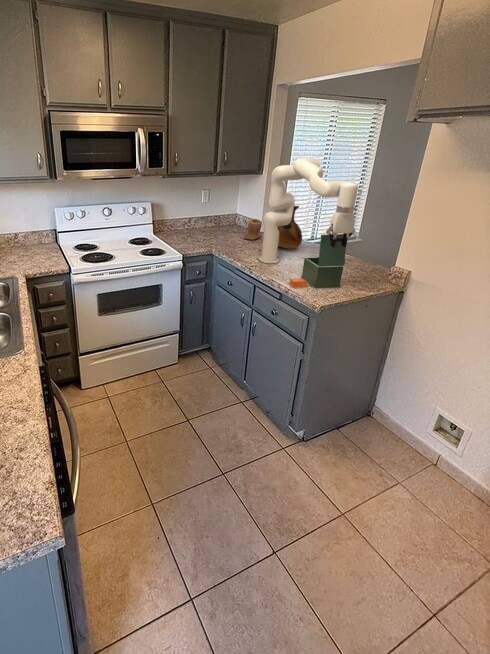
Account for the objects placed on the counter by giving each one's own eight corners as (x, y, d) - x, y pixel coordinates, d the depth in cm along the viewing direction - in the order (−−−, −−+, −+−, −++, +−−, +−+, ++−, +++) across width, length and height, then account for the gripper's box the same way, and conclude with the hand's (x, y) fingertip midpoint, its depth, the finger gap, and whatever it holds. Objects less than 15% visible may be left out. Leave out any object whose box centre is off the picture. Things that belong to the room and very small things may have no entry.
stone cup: (255, 242, 266) (257, 222, 260) (241, 239, 273) (243, 219, 268) (264, 237, 276) (267, 218, 271) (251, 235, 284) (252, 216, 278)
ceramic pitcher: (302, 245, 259) (308, 203, 248) (299, 253, 242) (305, 209, 231) (274, 241, 266) (279, 201, 255) (269, 249, 249) (274, 206, 238)
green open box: (301, 277, 202) (304, 257, 197) (324, 276, 203) (327, 256, 199) (315, 288, 187) (318, 267, 183) (339, 287, 189) (343, 266, 184)
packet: (293, 287, 189) (294, 282, 187) (289, 283, 193) (290, 278, 192) (306, 286, 189) (306, 281, 188) (302, 283, 193) (302, 278, 192)
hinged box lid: (320, 234, 179) (326, 235, 174) (346, 233, 181) (352, 235, 175) (318, 266, 183) (323, 268, 178) (343, 265, 184) (349, 267, 179)
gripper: (357, 207, 174) (349, 243, 181) (323, 208, 173) (317, 244, 179) (366, 211, 167) (358, 248, 174) (332, 212, 166) (325, 249, 173)
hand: (337, 245), depth 177 cm, fingers closed on hinged box lid, 5 cm apart
